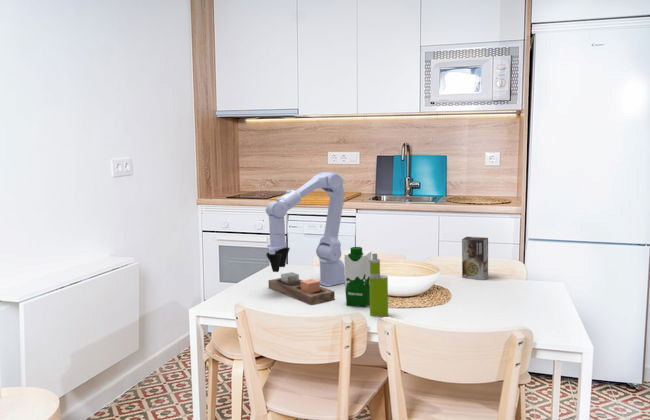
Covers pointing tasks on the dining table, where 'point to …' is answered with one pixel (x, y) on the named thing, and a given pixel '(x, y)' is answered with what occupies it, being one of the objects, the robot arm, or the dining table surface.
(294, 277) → the silver metal block
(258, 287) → the dining table surface
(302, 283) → the salmon pink cube
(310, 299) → the brown ladder-shaped frame
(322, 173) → the robot arm
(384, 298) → the vape
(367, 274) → the milk carton
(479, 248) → the coffee box
